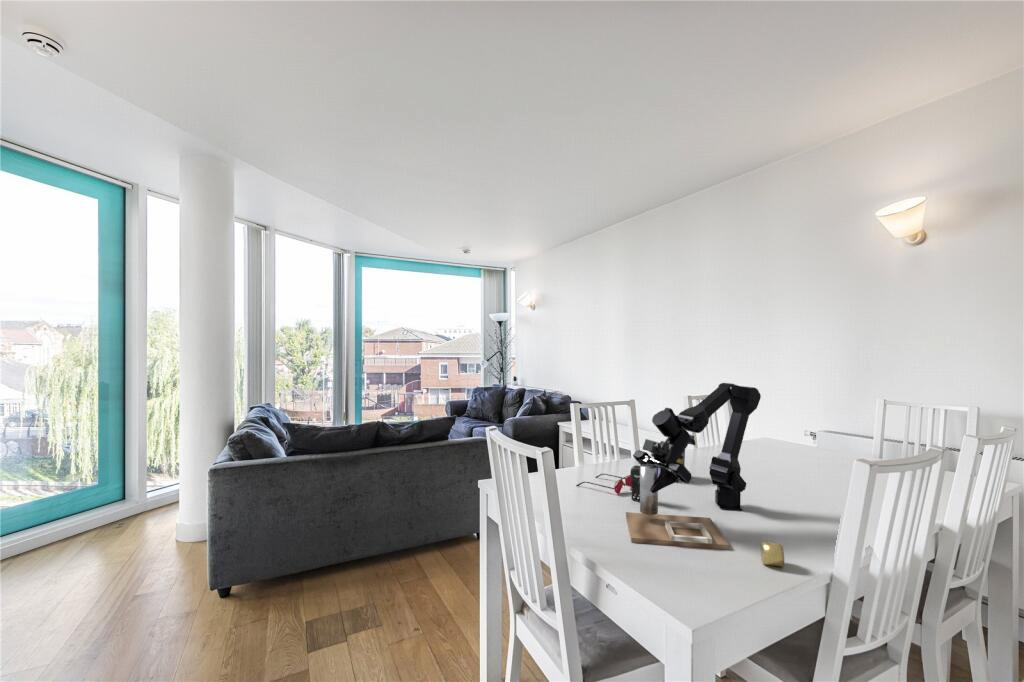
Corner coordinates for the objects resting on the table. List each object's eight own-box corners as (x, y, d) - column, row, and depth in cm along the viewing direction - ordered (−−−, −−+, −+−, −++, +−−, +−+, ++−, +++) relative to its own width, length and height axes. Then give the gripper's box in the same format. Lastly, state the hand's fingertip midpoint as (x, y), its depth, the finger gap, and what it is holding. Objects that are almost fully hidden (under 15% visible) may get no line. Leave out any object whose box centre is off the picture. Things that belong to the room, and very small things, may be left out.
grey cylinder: (656, 508, 134) (656, 464, 134) (659, 515, 129) (659, 469, 129) (639, 507, 135) (639, 463, 135) (640, 514, 130) (640, 468, 130)
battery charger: (628, 500, 151) (629, 466, 151) (632, 497, 154) (632, 463, 154) (649, 505, 147) (650, 469, 147) (653, 501, 150) (653, 466, 150)
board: (710, 521, 134) (710, 513, 134) (728, 549, 116) (728, 540, 116) (625, 516, 138) (625, 508, 138) (631, 542, 120) (631, 533, 120)
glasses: (617, 497, 155) (617, 482, 155) (575, 486, 166) (575, 473, 166) (635, 487, 166) (635, 473, 166) (595, 478, 177) (595, 465, 177)
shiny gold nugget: (764, 546, 107) (784, 549, 106) (760, 538, 112) (779, 540, 110) (764, 568, 107) (784, 570, 106) (760, 558, 112) (779, 561, 110)
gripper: (637, 423, 142) (608, 463, 137) (684, 435, 125) (652, 481, 120) (657, 446, 145) (629, 486, 141) (704, 460, 128) (675, 506, 124)
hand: (645, 489), depth 131 cm, fingers closed on grey cylinder, 5 cm apart
